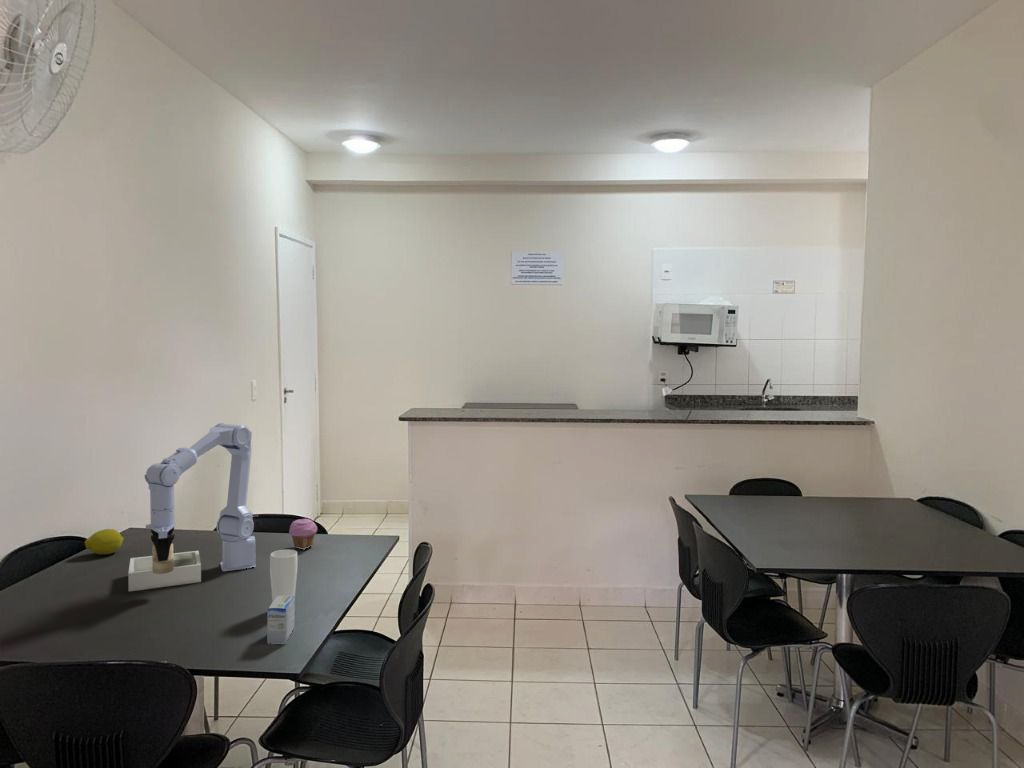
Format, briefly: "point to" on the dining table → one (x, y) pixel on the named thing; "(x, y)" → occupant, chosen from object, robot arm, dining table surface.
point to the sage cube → (182, 560)
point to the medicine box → (281, 619)
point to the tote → (146, 579)
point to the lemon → (104, 542)
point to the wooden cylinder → (162, 562)
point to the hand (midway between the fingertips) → (162, 557)
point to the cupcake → (303, 532)
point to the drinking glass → (283, 572)
